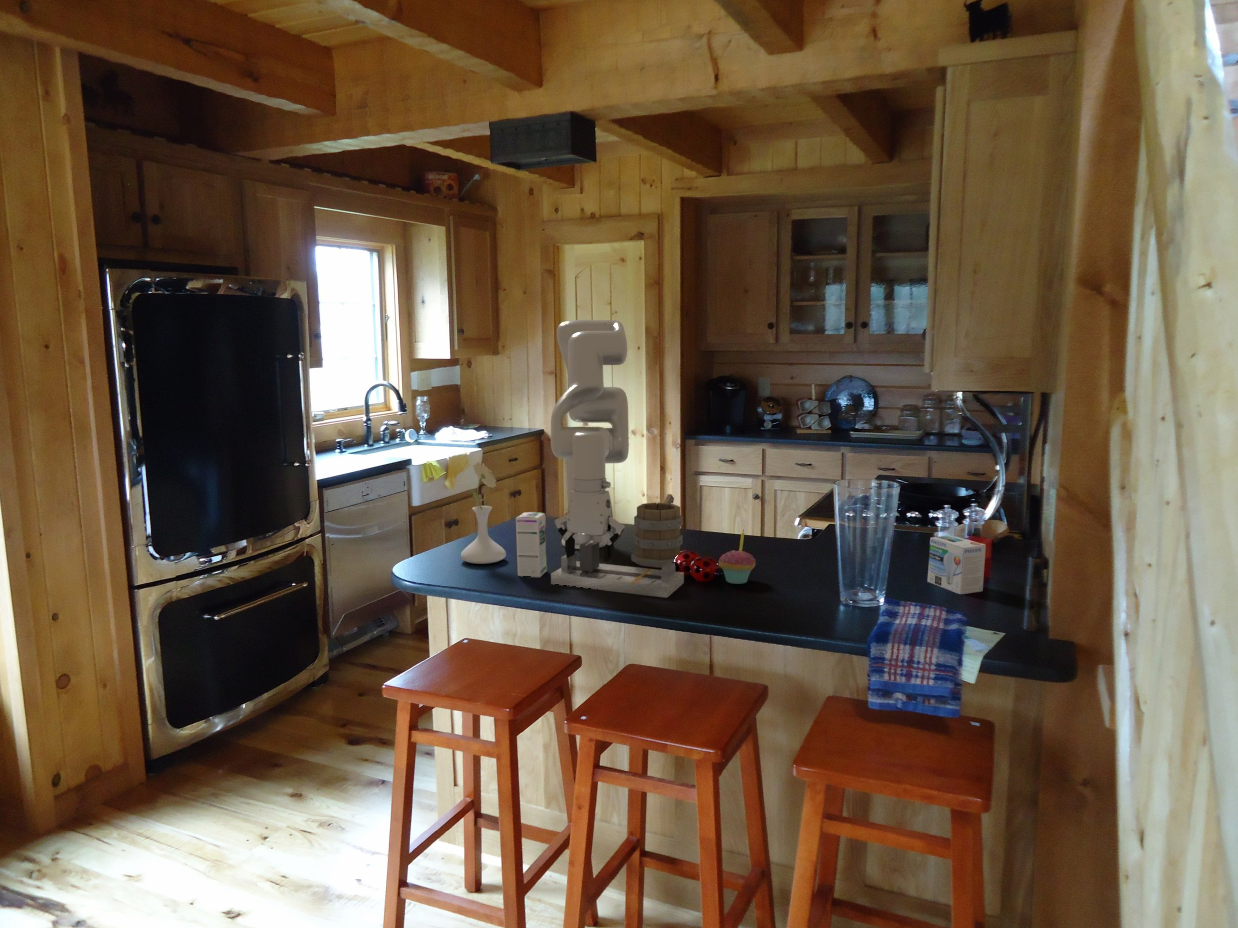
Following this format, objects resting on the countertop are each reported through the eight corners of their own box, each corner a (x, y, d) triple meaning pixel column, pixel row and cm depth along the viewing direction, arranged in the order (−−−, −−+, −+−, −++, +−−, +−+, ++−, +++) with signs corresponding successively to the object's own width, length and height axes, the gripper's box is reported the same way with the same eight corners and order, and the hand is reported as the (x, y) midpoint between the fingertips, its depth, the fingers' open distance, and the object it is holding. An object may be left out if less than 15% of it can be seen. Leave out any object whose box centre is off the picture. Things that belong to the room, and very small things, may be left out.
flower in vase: (510, 565, 217) (508, 465, 213) (464, 569, 213) (461, 468, 209) (500, 552, 229) (497, 458, 225) (456, 556, 225) (453, 460, 221)
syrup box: (540, 577, 206) (539, 517, 203) (516, 576, 207) (515, 516, 205) (547, 571, 211) (546, 512, 209) (523, 569, 212) (522, 511, 210)
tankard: (675, 569, 213) (675, 509, 210) (626, 564, 217) (626, 505, 215) (696, 550, 231) (697, 494, 229) (651, 546, 236) (651, 491, 233)
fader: (587, 565, 206) (587, 540, 205) (599, 566, 205) (599, 541, 204) (579, 570, 202) (579, 544, 201) (591, 571, 201) (591, 545, 200)
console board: (573, 570, 212) (572, 548, 211) (683, 582, 201) (683, 559, 201) (551, 584, 201) (550, 560, 200) (667, 597, 190) (667, 573, 190)
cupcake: (733, 573, 209) (734, 524, 207) (762, 581, 203) (764, 530, 201) (710, 581, 203) (711, 530, 201) (740, 588, 197) (741, 536, 195)
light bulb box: (926, 582, 202) (928, 536, 200) (948, 578, 205) (951, 533, 203) (961, 595, 192) (964, 547, 191) (984, 591, 195) (987, 544, 193)
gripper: (630, 485, 199) (630, 558, 202) (562, 480, 206) (563, 550, 209) (616, 491, 193) (617, 566, 195) (547, 485, 200) (548, 558, 202)
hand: (589, 558), depth 202 cm, fingers open, 9 cm apart
